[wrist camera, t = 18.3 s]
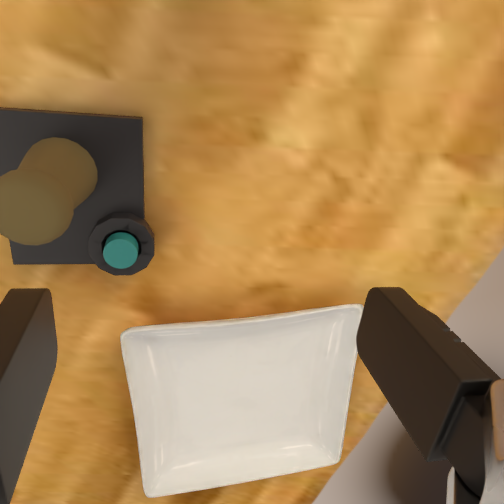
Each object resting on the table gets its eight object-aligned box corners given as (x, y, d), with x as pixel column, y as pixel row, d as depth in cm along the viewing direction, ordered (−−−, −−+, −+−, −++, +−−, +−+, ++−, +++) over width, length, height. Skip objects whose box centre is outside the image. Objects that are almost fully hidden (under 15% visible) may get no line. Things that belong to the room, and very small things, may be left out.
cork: (110, 191, 37) (92, 239, 27) (47, 214, 37) (6, 271, 27) (76, 126, 34) (42, 154, 24) (8, 152, 34) (-53, 190, 24)
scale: (-8, 106, 33) (-22, 111, 31) (153, 117, 36) (152, 122, 34) (18, 262, 39) (8, 277, 37) (154, 261, 42) (154, 275, 40)
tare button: (104, 231, 37) (101, 239, 36) (138, 231, 38) (137, 239, 36) (106, 260, 38) (103, 269, 37) (138, 260, 39) (137, 268, 38)
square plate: (331, 443, 61) (341, 466, 58) (145, 475, 56) (144, 502, 52) (354, 289, 49) (368, 307, 46) (120, 311, 44) (117, 333, 41)
